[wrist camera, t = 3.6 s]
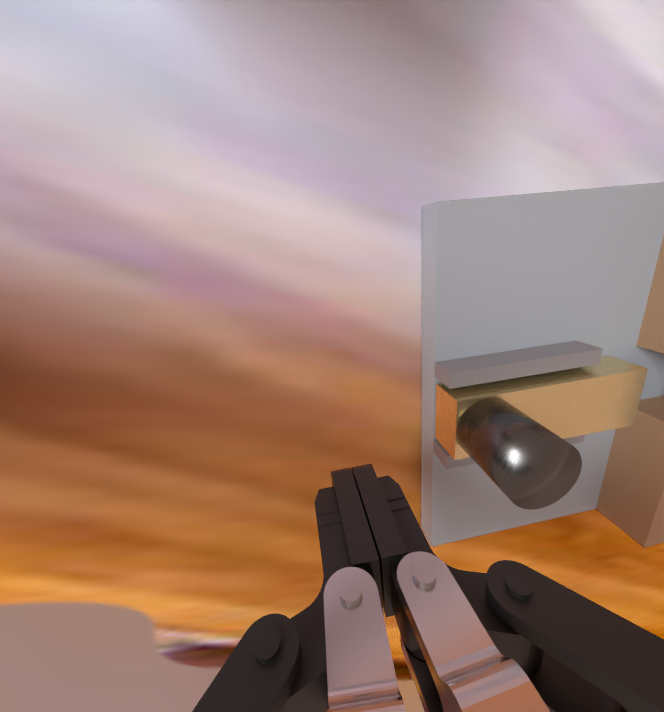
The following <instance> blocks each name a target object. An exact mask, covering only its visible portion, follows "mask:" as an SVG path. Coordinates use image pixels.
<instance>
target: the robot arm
mask: <svg viewBox="0 0 664 712" xmlns="http://www.w3.org/2000/svg"><path fill="white" fill-rule="evenodd" d="M331 478H332V485H333V487H329V488H324V489H319V491H318V494H317V497H316V500H315V509H316V516H317V524H318V532H319V540H320V548H321V556H322V564H323V571H324V580H323V585H322V588H321V591H320V593H319V595H318V597H317V598H316V599H315V601H314V602H313V603H312V604H311V605H310V606H309V607H307V608H306V609H305V610H303V611H302V612H300V613H299V614H297V615H295V616H294V617H292V618H291V619H289V618H288V617H286V616H284V615H281V614H269V615H266V616H263V617H262V618H260V619H258V620H257V621H256V622H254V623H253V624H252V625H251V626H250V627H249V629H248V630H247V631H246V633H245V634H244V636H243V637H242V639H241V640H240V641H239V643H238V644H237V646H236V647H235V649H234V650H233V652H232V653H231V655H230V656H229V658H228V659H227V661H226V662H225V664H224V665H223V667H222V668H221V670H220V671H219V673H218V674H217V676H216V677H215V679H214V680H213V682H212V683H211V685H210V686H209V688H208V689H207V691H206V692H205V694H204V695H203V697H202V698H201V699H200V701H199V702H198V704H197V705H196V707H195V709H194V710H193V711H192V712H406V711H405V707H404V703H403V699H402V696H401V694H400V692H399V689H398V684H397V680H396V675H395V670H394V665H393V660H392V655H391V651H390V646H389V641H388V636H387V631H386V626H385V622H384V615H383V608H384V612H385V615H386V617H389V616H393V615H395V618H396V621H397V624H398V627H399V631H400V641H401V647H402V651H403V654H404V656H405V659H406V662H407V665H408V667H409V670H410V673H411V675H412V678H413V681H414V684H415V686H416V689H417V692H418V695H419V697H420V700H421V703H422V706H423V708H424V711H425V712H664V640H663V639H662V638H660V637H658V636H656V635H654V634H652V633H650V632H649V631H647V630H645V629H643V628H641V627H639V626H637V625H635V624H634V623H632V622H630V621H628V620H626V619H624V618H622V617H621V616H619V615H617V614H615V613H613V612H611V611H609V610H607V609H606V608H604V607H602V606H600V605H598V604H596V603H594V602H593V601H591V600H589V599H587V598H585V597H583V596H581V595H579V594H578V593H576V592H574V591H572V590H570V589H568V588H566V587H565V586H563V585H561V584H559V583H557V582H555V581H553V580H551V579H550V578H548V577H546V576H544V575H542V574H540V573H538V572H537V571H535V570H533V569H531V568H529V567H527V566H525V565H523V564H521V563H518V562H515V561H510V560H503V561H498V562H496V563H494V564H492V565H491V566H490V568H489V569H488V572H487V573H479V572H470V571H463V570H458V569H455V568H452V567H450V566H448V565H447V564H445V563H444V562H443V561H442V560H441V559H439V558H438V557H437V556H436V555H435V554H434V553H433V551H432V550H431V548H430V546H429V544H428V542H427V540H426V538H425V536H424V534H423V532H422V530H421V528H420V526H419V524H418V522H417V520H416V518H415V516H414V514H413V512H412V510H411V509H410V506H409V504H408V502H407V500H406V499H405V496H404V494H403V492H402V490H401V488H400V486H399V484H398V483H396V482H395V481H394V480H393V479H392V478H391V477H389V476H384V477H379V478H377V476H376V473H375V471H374V469H373V466H372V464H367V465H362V466H356V467H352V468H347V469H341V470H336V471H331Z"/></svg>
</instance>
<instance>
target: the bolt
mask: <svg viewBox="0 0 664 712" xmlns="http://www.w3.org/2000/svg"><path fill="white" fill-rule="evenodd" d="M647 372H648V368H645V367H642V366H639V365H636V364H632V363H629V362H626V361H623V360H620V359H617V358H614V357H611V356H602V357H601V361H600V364H597V365H591V366H585V367H579V368H573V369H567V370H561V371H555V372H549V373H543V374H536V375H530V376H524V377H518V378H512V379H506V380H500V381H494V382H488V383H482V384H476V385H470V386H464V387H458V388H452V389H449V388H448V387H447V386H445V385H444V384H443V383H437V384H436V415H435V438H436V439H437V440H438V441H439V442H440V444H441V445H442V446H443V447H444V448H445V450H446V451H447V452H448V453H449V454H450V455H451V457H452V458H453V459H454V460H459V459H464V458H469V457H471V458H472V459H473V460H474V462H475V463H476V464H477V465H478V466H479V467H480V468H481V469H482V470H483V471H484V472H485V473H486V474H487V476H488V477H489V478H490V479H491V480H492V481H493V482H494V483H495V484H496V485H497V486H498V487H499V488H500V489H501V491H502V492H503V493H504V494H505V495H506V496H507V497H508V498H509V499H510V500H511V501H512V502H513V503H514V504H515V505H516V506H518V507H520V508H522V509H528V510H534V509H540V508H544V507H547V506H549V505H551V504H553V503H555V502H557V501H558V500H560V499H561V498H562V497H564V496H565V495H566V494H567V493H568V492H569V491H570V490H571V488H572V487H573V486H574V484H575V483H576V481H577V479H578V477H579V475H580V472H581V468H582V459H581V455H580V453H579V451H578V450H577V449H576V448H575V447H574V446H573V445H571V444H570V443H568V442H567V441H565V440H564V439H565V438H571V437H576V436H581V435H586V434H591V433H596V432H601V431H606V430H611V429H616V428H621V427H626V426H631V425H633V424H634V420H635V417H636V413H637V409H638V405H639V402H640V398H641V394H642V391H643V387H644V383H645V379H646V376H647Z"/></svg>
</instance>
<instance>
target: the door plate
mask: <svg viewBox="0 0 664 712" xmlns="http://www.w3.org/2000/svg"><path fill="white" fill-rule="evenodd" d="M602 356H611V357H614V358H617V359H620V360H623V361H626V362H629V363H632V364H636V365H639V366H642V367H645V368H648V372H647V376H646V379H645V383H644V387H643V391H642V394H641V398H640V402H639V405H638V409H637V413H636V417H635V420H634V424H633V425H631V426H626V427H621V428H616V429H611V430H606V431H601V432H596V433H591V434H586V435H581V436H576V437H571V438H565V439H564V440H565V441H567V442H568V443H570V444H571V445H573V446H574V447H575V448H576V449H577V450H578V451H579V453H580V455H581V459H582V468H581V472H580V475H579V477H578V479H577V481H576V483H575V484H574V486H573V487H572V488H571V490H570V491H569V492H568V493H567V494H566V495H565V496H564V497H562V498H561V499H560V500H558V501H557V502H555V503H553V504H551V505H549V506H547V507H544V508H540V509H534V510H528V509H522V508H520V507H518V506H516V505H515V504H514V503H513V502H512V501H511V500H510V499H509V498H508V497H507V496H506V495H505V494H504V493H503V492H502V491H501V489H500V488H499V487H498V486H497V485H496V484H495V483H494V482H493V481H492V480H491V479H490V478H489V477H488V476H487V474H486V473H485V472H484V471H483V470H482V469H481V468H480V467H479V466H478V465H477V464H476V463H475V462H474V460H473V459H472V458H471V457H469V458H464V459H459V460H454V459H453V458H452V457H451V455H450V454H449V453H448V452H447V451H446V450H445V448H444V447H443V446H442V445H441V444H440V442H439V441H438V440H437V439H436V438H435V415H436V384H437V383H443V384H444V385H445V386H447V387H448V388H449V389H452V388H458V387H464V386H470V385H476V384H482V383H488V382H494V381H500V380H506V379H512V378H518V377H524V376H530V375H536V374H543V373H549V372H555V371H561V370H567V369H573V368H579V367H585V366H591V365H597V364H600V361H601V357H602ZM593 509H597V510H598V511H599V512H600V513H602V514H603V515H604V516H605V517H607V518H608V519H609V520H610V521H611V522H613V523H614V524H615V525H616V526H618V527H619V528H620V529H621V530H623V531H624V532H625V533H626V534H627V535H629V536H630V537H631V538H632V539H634V540H635V541H636V542H637V543H638V544H640V545H641V546H642V547H643V548H645V547H649V546H653V545H657V544H661V543H664V182H661V183H649V184H638V185H626V186H615V187H603V188H592V189H580V190H568V191H557V192H545V193H534V194H522V195H510V196H499V197H487V198H476V199H464V200H452V201H441V202H435V203H432V204H429V205H425V206H422V424H421V528H422V530H423V532H424V534H425V536H426V538H427V540H428V542H429V544H430V545H431V547H433V546H437V545H441V544H446V543H450V542H454V541H459V540H463V539H467V538H472V537H476V536H480V535H485V534H489V533H493V532H498V531H502V530H506V529H511V528H515V527H519V526H524V525H528V524H532V523H537V522H541V521H545V520H549V519H554V518H558V517H562V516H567V515H571V514H575V513H580V512H584V511H588V510H593Z"/></svg>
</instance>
